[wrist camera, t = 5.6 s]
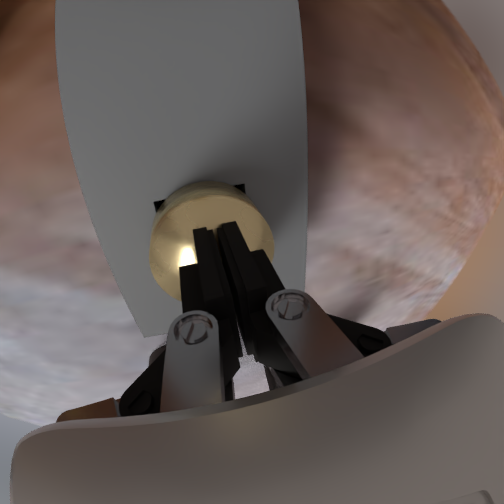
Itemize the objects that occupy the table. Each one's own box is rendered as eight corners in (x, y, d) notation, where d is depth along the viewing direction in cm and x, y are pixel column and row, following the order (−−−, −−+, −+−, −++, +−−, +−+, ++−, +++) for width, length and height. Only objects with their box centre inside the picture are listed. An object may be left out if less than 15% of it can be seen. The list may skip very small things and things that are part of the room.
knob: (242, 226, 18) (275, 291, 12) (166, 242, 17) (168, 315, 12) (234, 151, 15) (271, 187, 10) (148, 167, 14) (132, 215, 9)
